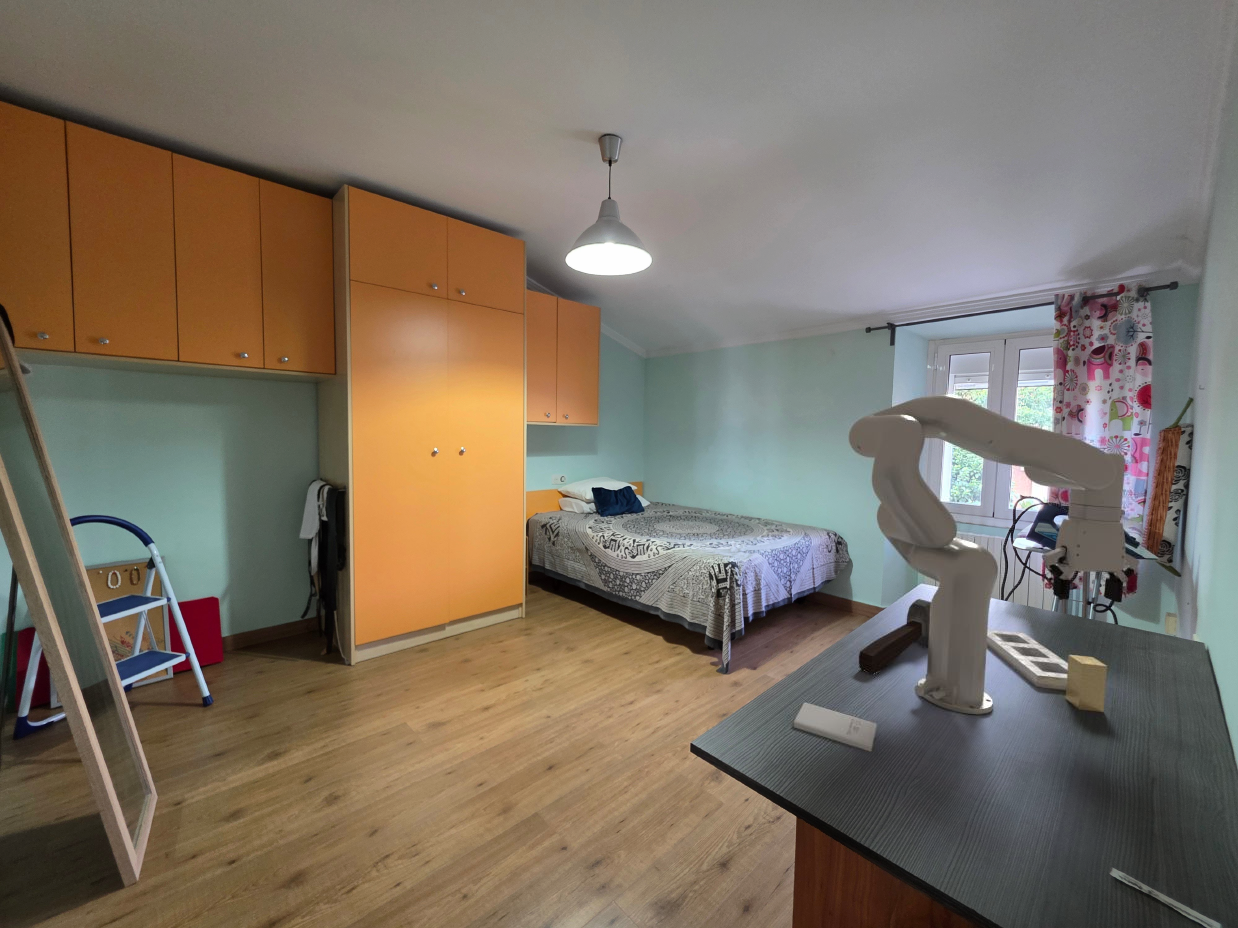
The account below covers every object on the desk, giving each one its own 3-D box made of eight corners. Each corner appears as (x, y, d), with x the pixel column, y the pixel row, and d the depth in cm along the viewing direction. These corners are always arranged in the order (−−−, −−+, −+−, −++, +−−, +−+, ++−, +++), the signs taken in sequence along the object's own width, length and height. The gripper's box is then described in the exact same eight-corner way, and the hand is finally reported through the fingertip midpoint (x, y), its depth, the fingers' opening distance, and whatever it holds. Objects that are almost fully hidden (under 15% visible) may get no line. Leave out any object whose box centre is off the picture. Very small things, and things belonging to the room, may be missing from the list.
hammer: (876, 693, 109) (938, 643, 126) (875, 644, 107) (938, 601, 125) (855, 684, 113) (917, 637, 130) (853, 636, 111) (917, 595, 128)
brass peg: (1103, 711, 96) (1107, 665, 95) (1078, 709, 97) (1082, 663, 96) (1089, 701, 100) (1092, 656, 99) (1065, 698, 101) (1068, 654, 100)
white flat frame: (1093, 692, 103) (1094, 681, 103) (1036, 686, 105) (1037, 674, 105) (1023, 642, 128) (1023, 632, 128) (978, 638, 131) (979, 628, 130)
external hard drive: (804, 709, 96) (877, 730, 90) (793, 730, 89) (871, 754, 83) (804, 701, 96) (877, 721, 89) (793, 721, 89) (871, 745, 83)
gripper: (1123, 512, 103) (1115, 595, 104) (1033, 509, 104) (1027, 590, 105) (1159, 518, 95) (1151, 607, 96) (1062, 515, 97) (1055, 602, 98)
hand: (1086, 598), depth 101 cm, fingers open, 9 cm apart
